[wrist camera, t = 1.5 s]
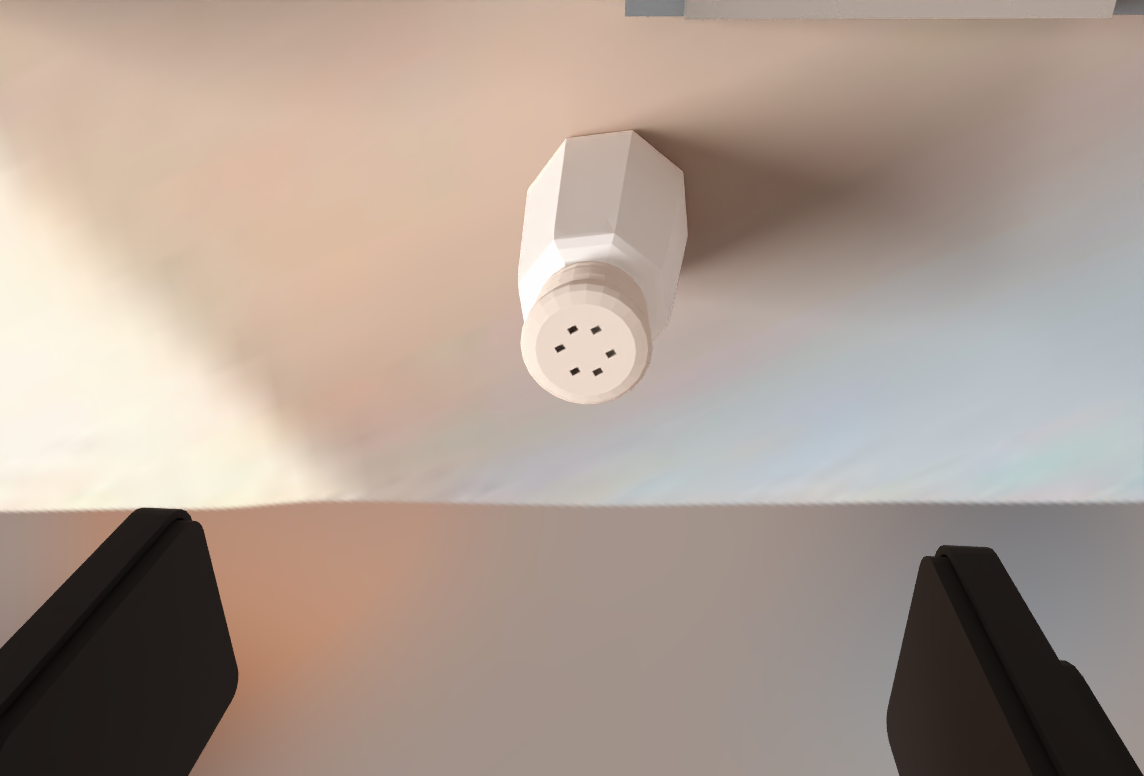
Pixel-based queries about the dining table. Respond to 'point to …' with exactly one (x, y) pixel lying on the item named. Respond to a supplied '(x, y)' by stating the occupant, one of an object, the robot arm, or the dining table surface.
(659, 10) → the scale base
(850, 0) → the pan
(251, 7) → the dining table surface
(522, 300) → the pepper shaker
